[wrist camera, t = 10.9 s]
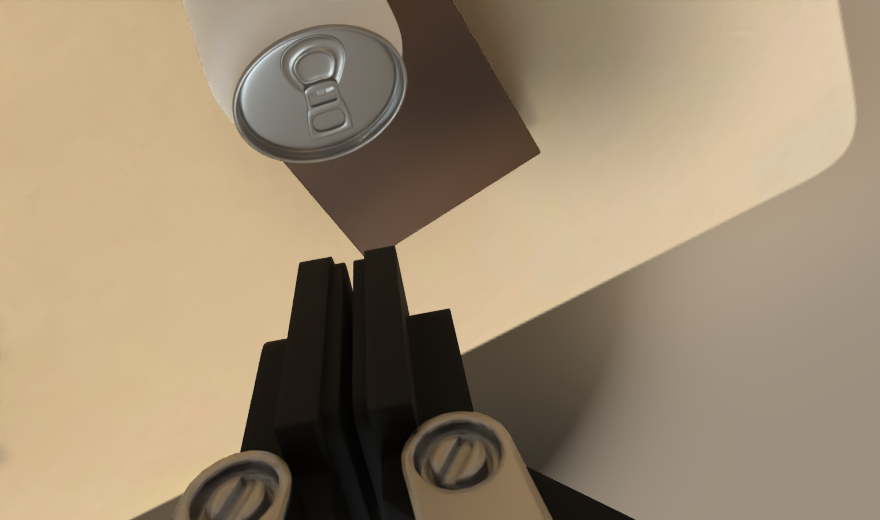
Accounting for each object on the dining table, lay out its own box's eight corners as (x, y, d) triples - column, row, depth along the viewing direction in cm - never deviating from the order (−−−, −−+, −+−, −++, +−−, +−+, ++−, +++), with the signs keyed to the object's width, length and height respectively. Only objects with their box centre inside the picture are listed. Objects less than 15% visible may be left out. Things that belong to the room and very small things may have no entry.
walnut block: (245, 73, 30) (228, 98, 26) (415, -53, 28) (425, -46, 24) (367, 222, 35) (368, 262, 31) (519, 123, 33) (541, 153, 29)
